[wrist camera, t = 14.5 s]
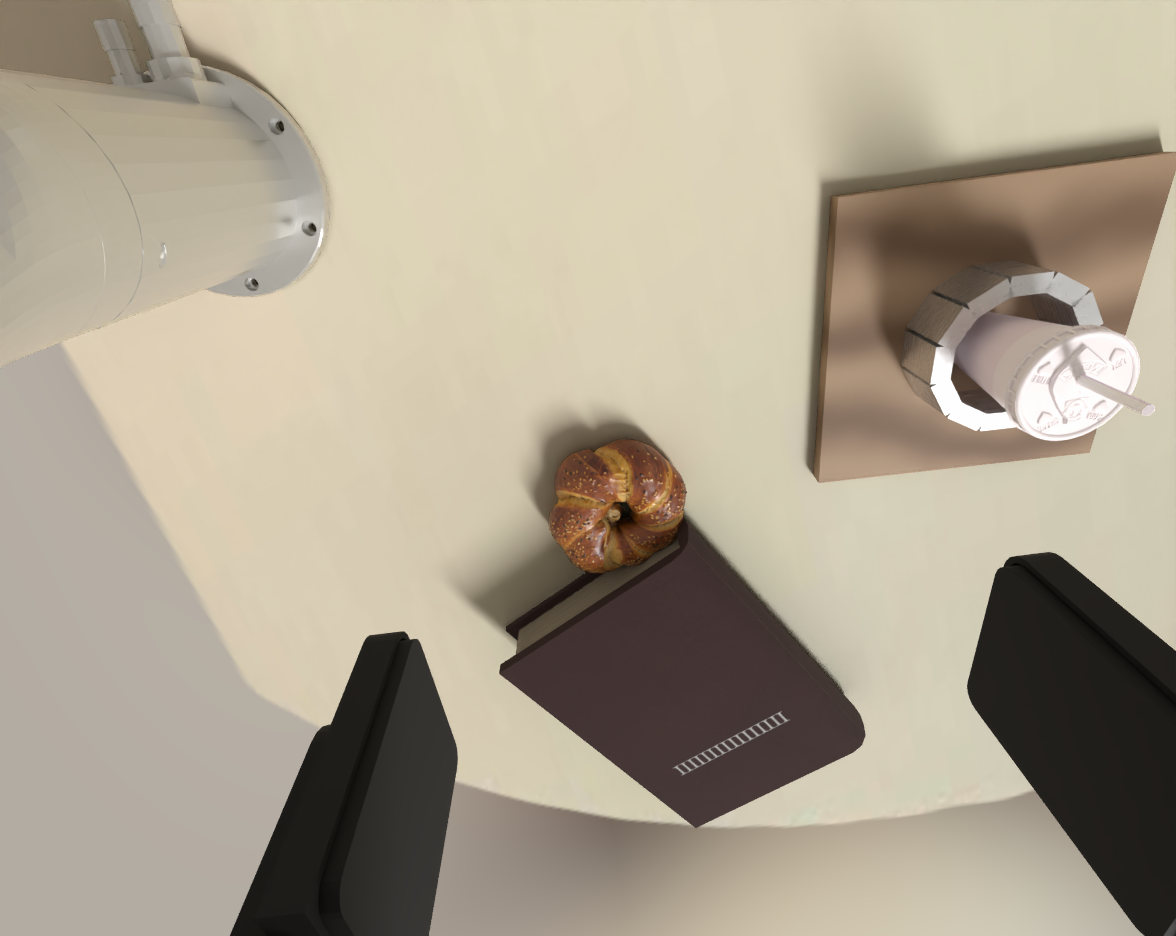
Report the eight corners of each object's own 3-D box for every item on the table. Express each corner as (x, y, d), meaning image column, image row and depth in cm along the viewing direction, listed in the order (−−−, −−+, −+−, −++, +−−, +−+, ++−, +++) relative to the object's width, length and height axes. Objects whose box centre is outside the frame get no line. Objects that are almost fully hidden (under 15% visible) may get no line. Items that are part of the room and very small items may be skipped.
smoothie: (1027, 279, 38) (1239, 340, 26) (1016, 372, 41) (1201, 466, 29) (925, 301, 39) (1085, 371, 27) (921, 391, 42) (1064, 492, 30)
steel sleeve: (912, 272, 38) (945, 285, 35) (1071, 252, 38) (1121, 263, 34) (893, 414, 43) (922, 437, 39) (1035, 397, 42) (1076, 420, 39)
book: (847, 689, 59) (874, 742, 53) (686, 772, 64) (695, 827, 59) (681, 504, 48) (694, 547, 43) (506, 623, 54) (499, 673, 49)
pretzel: (644, 576, 51) (648, 606, 48) (525, 536, 49) (520, 564, 46) (711, 463, 46) (721, 487, 43) (580, 412, 44) (580, 433, 41)
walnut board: (830, 196, 37) (838, 197, 36) (1163, 151, 36) (1181, 151, 35) (813, 475, 46) (818, 482, 45) (1077, 445, 46) (1089, 452, 44)
